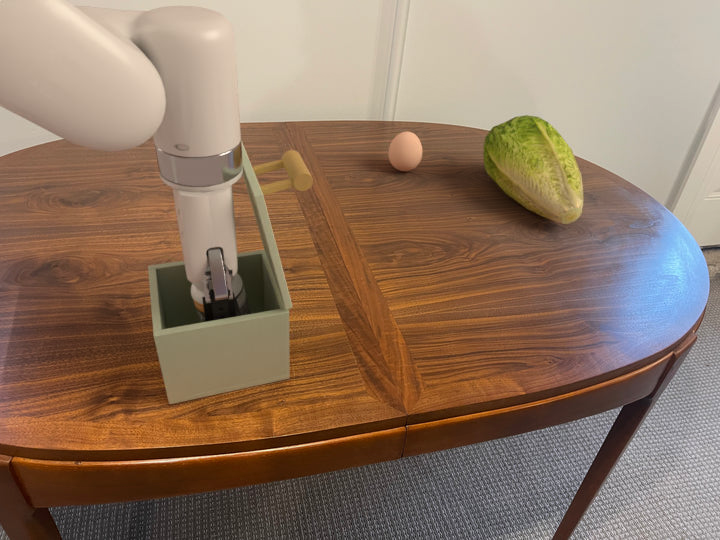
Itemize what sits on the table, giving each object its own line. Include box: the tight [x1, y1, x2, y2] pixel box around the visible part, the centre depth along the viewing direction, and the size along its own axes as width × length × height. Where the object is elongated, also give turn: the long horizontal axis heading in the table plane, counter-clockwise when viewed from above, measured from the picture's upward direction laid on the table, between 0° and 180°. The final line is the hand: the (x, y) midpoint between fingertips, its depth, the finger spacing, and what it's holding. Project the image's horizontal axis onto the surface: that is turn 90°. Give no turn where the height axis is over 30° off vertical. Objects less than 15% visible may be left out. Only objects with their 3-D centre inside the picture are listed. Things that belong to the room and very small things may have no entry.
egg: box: [387, 131, 424, 172], centre depth 104 cm, size 7×7×8 cm
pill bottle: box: [191, 265, 251, 323], centre depth 60 cm, size 6×6×10 cm
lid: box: [241, 139, 314, 310], centre depth 56 cm, size 14×12×6 cm
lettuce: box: [482, 114, 585, 225], centre depth 98 cm, size 14×24×15 cm
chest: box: [147, 249, 291, 405], centre depth 62 cm, size 14×12×11 cm
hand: (217, 302), depth 60 cm, fingers closed on pill bottle, 5 cm apart
